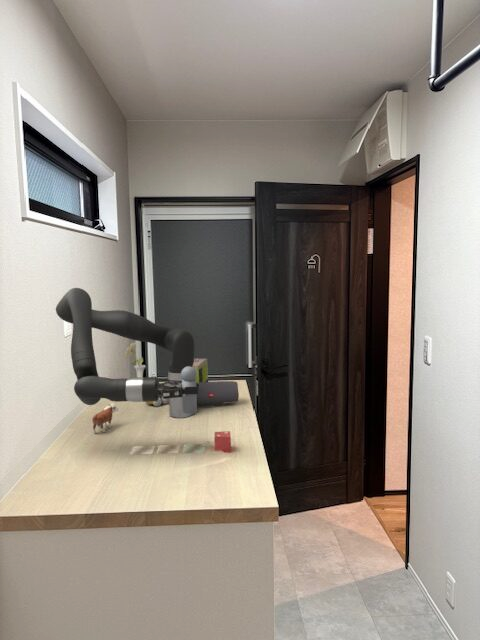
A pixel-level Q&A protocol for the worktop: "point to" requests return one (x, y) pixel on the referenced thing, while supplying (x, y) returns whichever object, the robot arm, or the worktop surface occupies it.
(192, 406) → the pawn
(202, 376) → the tea box
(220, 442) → the red die
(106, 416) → the bull figurine
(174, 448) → the game track
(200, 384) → the bluetooth speaker
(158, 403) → the multicolored fan-shaped piece
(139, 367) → the flower in vase
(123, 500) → the worktop surface
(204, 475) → the worktop surface
